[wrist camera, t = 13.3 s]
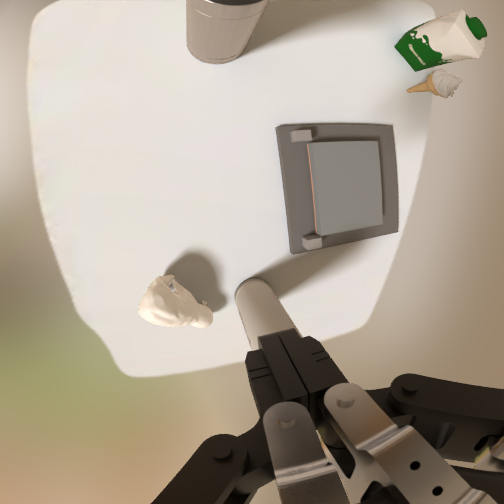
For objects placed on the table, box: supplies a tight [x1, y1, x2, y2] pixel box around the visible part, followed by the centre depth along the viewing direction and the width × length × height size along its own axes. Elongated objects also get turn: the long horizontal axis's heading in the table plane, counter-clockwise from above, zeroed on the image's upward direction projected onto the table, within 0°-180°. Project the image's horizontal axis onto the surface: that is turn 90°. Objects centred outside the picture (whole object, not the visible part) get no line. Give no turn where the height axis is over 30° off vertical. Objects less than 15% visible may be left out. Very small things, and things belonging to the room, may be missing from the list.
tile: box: [307, 141, 383, 236], centre depth 40 cm, size 14×2×12 cm
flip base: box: [276, 124, 398, 254], centre depth 42 cm, size 20×22×3 cm
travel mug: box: [235, 278, 303, 351], centre depth 36 cm, size 6×7×20 cm
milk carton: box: [394, 10, 487, 72], centre depth 28 cm, size 9×9×20 cm
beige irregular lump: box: [138, 275, 213, 328], centre depth 40 cm, size 6×8×12 cm
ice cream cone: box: [407, 69, 463, 98], centre depth 33 cm, size 6×6×15 cm
